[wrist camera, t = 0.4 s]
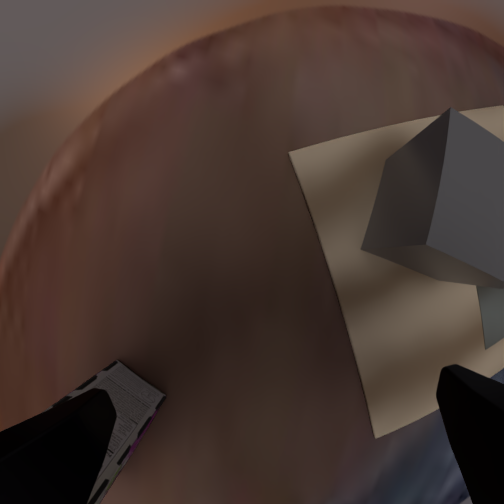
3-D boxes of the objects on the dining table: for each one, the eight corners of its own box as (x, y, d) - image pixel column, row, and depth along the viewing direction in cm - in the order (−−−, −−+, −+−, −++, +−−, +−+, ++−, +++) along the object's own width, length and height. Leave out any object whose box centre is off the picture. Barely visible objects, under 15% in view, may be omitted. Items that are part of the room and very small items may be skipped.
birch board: (553, 324, 20) (557, 325, 19) (373, 435, 20) (375, 439, 20) (500, 107, 20) (503, 105, 20) (288, 154, 21) (288, 151, 20)
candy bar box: (120, 474, 21) (35, 596, 5) (75, 442, 21) (-32, 542, 5) (173, 394, 21) (59, 561, 4) (117, 355, 21) (-49, 463, 5)
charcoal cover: (438, 280, 20) (522, 291, 11) (360, 249, 20) (425, 244, 11) (458, 196, 20) (539, 170, 11) (385, 159, 20) (450, 107, 11)
